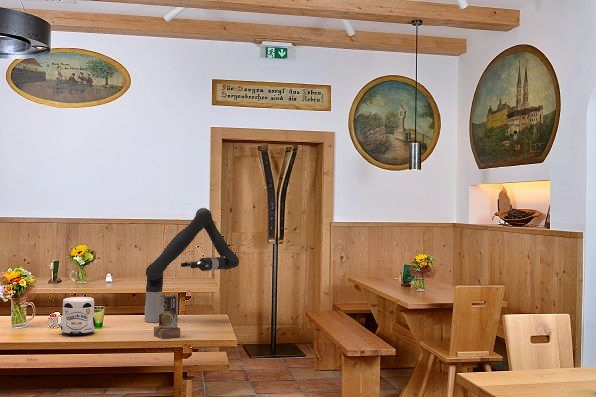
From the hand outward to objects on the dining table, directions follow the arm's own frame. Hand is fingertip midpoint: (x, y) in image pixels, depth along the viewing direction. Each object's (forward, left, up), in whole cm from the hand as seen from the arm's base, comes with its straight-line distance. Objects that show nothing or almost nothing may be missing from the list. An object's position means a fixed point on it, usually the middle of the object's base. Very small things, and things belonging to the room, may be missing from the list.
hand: (186, 265), depth 391 cm
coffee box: (+14, -22, -29) cm, 39 cm away
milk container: (-22, -52, -34) cm, 66 cm away
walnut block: (+13, -22, -34) cm, 43 cm away
